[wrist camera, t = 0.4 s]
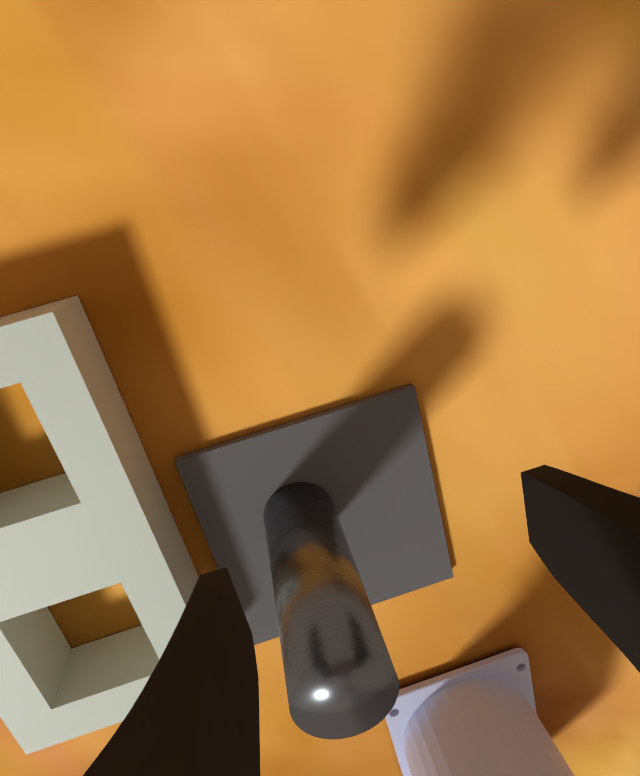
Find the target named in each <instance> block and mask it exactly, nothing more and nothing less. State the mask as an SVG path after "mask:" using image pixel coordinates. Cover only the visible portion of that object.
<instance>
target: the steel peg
mask: <svg viewBox="0 0 640 776" xmlns="http://www.w3.org/2000/svg"><path fill="white" fill-rule="evenodd" d="M264 524H265V531H266V539H267V546H268V553H269V561H270V568H271V576H272V583H273V591H274V598H275V605H276V613H277V620H278V628H279V635H280V643H281V650H282V658H283V665H284V672H285V680H286V687H287V695H288V702H289V710H290V714H291V717H292V719H293V721H294V722H295V724H296V725H297V726H298V727H299V728H300V729H301V730H303V731H304V732H305V733H307V734H309V735H312V736H315V737H318V738H323V739H342V738H347V737H352V736H355V735H358V734H360V733H363V732H365V731H367V730H369V729H371V728H372V727H374V726H375V725H377V724H378V723H379V722H381V721H382V720H383V719H384V718H385V717H386V716H387V715H388V713H389V712H390V711H391V710H392V708H393V706H394V705H395V702H396V700H397V697H398V693H399V681H398V677H397V674H396V672H395V669H394V666H393V664H392V661H391V658H390V656H389V653H388V650H387V647H386V645H385V642H384V639H383V637H382V634H381V631H380V629H379V626H378V623H377V620H376V618H375V615H374V612H373V610H372V607H371V604H370V602H369V599H368V596H367V593H366V591H365V588H364V585H363V583H362V580H361V577H360V575H359V572H358V569H357V566H356V564H355V561H354V558H353V556H352V553H351V550H350V548H349V545H348V542H347V539H346V537H345V534H344V531H343V529H342V526H341V523H340V521H339V518H338V515H337V512H336V510H335V507H334V504H333V502H332V499H331V497H330V495H329V494H328V493H327V492H326V491H325V490H324V489H323V488H322V487H320V486H318V485H316V484H313V483H309V482H295V483H291V484H288V485H285V486H283V487H281V488H280V489H278V490H277V491H276V492H275V493H273V495H272V496H271V497H270V498H269V500H268V501H267V503H266V506H265V509H264Z"/></svg>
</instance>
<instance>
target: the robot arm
mask: <svg viewBox="0 0 640 776" xmlns="http://www.w3.org/2000/svg"><path fill="white" fill-rule="evenodd" d="M521 479H522V486H523V494H524V502H525V510H526V518H527V526H528V534H529V542H530V543H531V545H532V546H533V548H534V549H535V551H536V552H537V554H538V555H539V557H540V558H541V560H542V561H543V563H544V564H545V565H546V567H547V568H548V569H549V571H550V572H551V574H552V575H553V576H554V578H555V579H556V580H557V581H558V582H559V583H560V584H561V586H562V587H563V588H564V589H565V590H566V591H567V592H568V593H569V595H570V596H571V597H572V598H573V599H574V600H575V601H576V602H577V603H578V604H579V606H580V607H581V608H582V609H583V610H584V611H585V612H586V613H587V614H588V615H589V616H590V618H591V619H592V620H593V621H594V622H595V623H596V624H597V625H598V626H599V627H600V628H601V630H602V631H603V632H604V633H605V634H606V635H607V636H608V637H609V638H610V639H611V640H612V642H613V643H614V644H615V645H616V646H617V647H618V648H619V649H620V650H621V651H622V652H623V654H624V655H625V656H626V657H627V658H628V659H629V661H630V662H631V663H632V664H633V665H634V666H635V668H636V669H637V670H638V671H639V672H640V498H639V497H636V496H633V495H630V494H627V493H624V492H621V491H618V490H615V489H612V488H610V487H607V486H604V485H601V484H598V483H596V482H593V481H590V480H587V479H585V478H582V477H579V476H576V475H574V474H571V473H568V472H565V471H562V470H559V469H556V468H553V467H550V466H547V465H543V466H540V467H536V468H533V469H530V470H527V471H524V472H521ZM385 718H386V721H387V725H388V728H389V731H390V735H391V738H392V741H393V744H394V748H395V751H396V754H397V758H398V761H399V764H400V768H401V771H402V774H403V776H574V774H573V773H572V771H571V769H570V768H569V766H568V765H567V763H566V761H565V760H564V758H563V756H562V755H561V753H560V752H559V750H558V748H557V747H556V745H555V743H554V742H553V740H552V739H551V737H550V735H549V734H548V732H547V730H546V729H545V727H544V726H543V724H542V722H541V721H540V719H539V717H538V716H537V712H536V705H535V699H534V692H533V685H532V678H531V672H530V665H529V658H528V655H527V653H526V652H525V650H524V649H522V648H514V649H512V650H509V651H506V652H503V653H500V654H498V655H495V656H492V657H489V658H486V659H484V660H481V661H478V662H475V663H472V664H469V665H467V666H464V667H461V668H458V669H455V670H453V671H450V672H447V673H444V674H441V675H439V676H436V677H433V678H430V679H427V680H425V681H422V682H419V683H416V684H413V685H410V686H408V687H405V688H402V689H399V693H398V697H397V700H396V702H395V705H394V706H393V708H392V710H391V711H390V712H389V713H388V715H387V716H386V717H385ZM83 776H260V738H259V687H258V672H257V664H256V656H255V649H254V642H253V635H252V632H251V629H250V627H249V624H248V621H247V619H246V616H245V614H244V611H243V608H242V606H241V603H240V601H239V598H238V596H237V593H236V590H235V588H234V585H233V583H232V580H231V577H230V575H229V572H228V570H227V567H224V568H221V569H218V570H215V571H212V572H209V573H205V574H202V575H200V577H199V578H198V580H197V582H196V584H195V586H194V589H193V591H192V593H191V595H190V598H189V600H188V602H187V604H186V607H185V609H184V611H183V613H182V615H181V617H180V620H179V622H178V624H177V626H176V628H175V630H174V632H173V634H172V636H171V638H170V640H169V642H168V644H167V646H166V648H165V650H164V652H163V654H162V656H161V658H160V660H159V661H158V663H157V665H156V667H155V668H154V670H153V672H152V674H151V676H150V677H149V679H148V681H147V683H146V685H145V686H144V688H143V690H142V692H141V693H140V695H139V697H138V698H137V700H136V701H135V703H134V705H133V706H132V708H131V709H130V711H129V713H128V714H127V716H126V717H125V719H124V720H123V722H122V723H121V725H120V726H119V728H118V729H117V731H116V732H115V734H114V735H113V736H112V738H111V739H110V741H109V742H108V744H107V745H106V746H105V747H104V749H103V750H102V751H101V753H100V754H99V755H98V757H97V758H96V759H95V761H94V762H93V763H92V764H91V766H90V767H89V768H88V770H87V771H86V772H85V774H84V775H83Z"/></svg>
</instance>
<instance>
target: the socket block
mask: <svg viewBox="0 0 640 776" xmlns="http://www.w3.org/2000/svg"><path fill="white" fill-rule="evenodd" d="M20 382H21V384H22V386H23V388H24V390H25V392H26V394H27V396H28V398H29V400H30V402H31V404H32V406H33V408H34V410H35V412H36V414H37V416H38V418H39V420H40V422H41V424H42V426H43V428H44V430H45V432H46V434H47V436H48V438H49V440H50V442H51V444H52V446H53V448H54V450H55V452H56V454H57V456H58V458H59V460H60V462H61V464H62V466H63V468H64V470H65V472H66V473H63V474H60V475H57V476H54V477H50V478H47V479H44V480H41V481H38V482H34V483H31V484H28V485H25V486H21V487H18V488H15V489H12V490H8V491H5V492H2V493H0V717H1V719H2V720H3V722H4V723H5V725H6V726H7V727H8V729H9V730H10V732H11V733H12V735H13V736H14V738H15V739H16V740H17V742H18V743H19V745H20V746H21V748H22V749H23V751H24V752H25V753H26V754H29V753H32V752H35V751H38V750H41V749H44V748H47V747H50V746H52V745H55V744H58V743H61V742H64V741H67V740H70V739H73V738H76V737H78V736H81V735H84V734H87V733H90V732H93V731H96V730H99V729H102V728H104V727H107V726H110V725H113V724H116V723H119V722H122V721H123V720H124V719H125V717H126V716H127V714H128V713H129V711H130V709H131V708H132V706H133V705H134V703H135V701H136V700H137V698H138V697H139V695H140V693H141V692H142V690H143V688H144V686H145V685H146V683H147V681H148V679H149V677H150V676H151V674H152V672H153V670H154V668H155V667H156V665H157V663H158V661H159V660H160V658H161V656H162V654H163V652H164V650H165V648H166V646H167V644H168V642H169V640H170V638H171V636H172V634H173V632H174V630H175V628H176V626H177V624H178V622H179V620H180V617H181V615H182V613H183V611H184V609H185V607H186V604H187V602H188V600H189V598H190V595H191V593H192V591H193V589H194V586H195V584H196V582H197V580H198V578H199V576H198V574H197V571H196V569H195V567H194V564H193V562H192V560H191V557H190V555H189V553H188V550H187V548H186V546H185V543H184V541H183V539H182V536H181V534H180V532H179V529H178V527H177V525H176V522H175V520H174V518H173V515H172V513H171V511H170V508H169V506H168V504H167V501H166V499H165V497H164V494H163V492H162V490H161V487H160V485H159V483H158V481H157V478H156V476H155V474H154V471H153V469H152V467H151V464H150V462H149V460H148V457H147V455H146V453H145V450H144V448H143V446H142V443H141V441H140V439H139V436H138V434H137V432H136V429H135V427H134V425H133V422H132V420H131V418H130V415H129V413H128V411H127V408H126V406H125V404H124V401H123V399H122V397H121V394H120V392H119V390H118V387H117V385H116V383H115V380H114V378H113V376H112V373H111V371H110V369H109V366H108V364H107V362H106V359H105V357H104V355H103V352H102V350H101V348H100V345H99V343H98V341H97V338H96V336H95V334H94V332H93V329H92V327H91V325H90V322H89V320H88V318H87V315H86V313H85V311H84V308H83V306H82V304H81V301H80V299H79V297H78V295H77V296H74V297H70V298H67V299H63V300H59V301H56V302H52V303H49V304H45V305H42V306H38V307H35V308H31V309H28V310H24V311H21V312H17V313H14V314H10V315H7V316H3V317H0V388H3V387H7V386H10V385H13V384H17V383H20ZM118 583H121V584H122V586H123V588H124V590H125V592H126V594H127V596H128V598H129V600H130V602H131V604H132V606H133V608H134V610H135V612H136V614H137V616H138V618H139V620H140V622H141V624H142V625H140V626H137V627H134V628H131V629H128V630H125V631H122V632H119V633H116V634H113V635H110V636H107V637H104V638H101V639H98V640H95V641H92V642H89V643H86V644H83V645H80V646H77V647H74V648H71V647H70V645H69V643H68V642H67V640H66V638H65V636H64V635H63V633H62V631H61V630H60V628H59V626H58V624H57V623H56V621H55V619H54V617H53V616H52V614H51V612H50V611H49V609H48V607H47V606H51V605H54V604H57V603H60V602H63V601H66V600H69V599H72V598H75V597H78V596H81V595H84V594H87V593H90V592H93V591H96V590H100V589H103V588H106V587H109V586H112V585H115V584H118Z"/></svg>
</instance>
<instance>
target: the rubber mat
mask: <svg viewBox="0 0 640 776" xmlns="http://www.w3.org/2000/svg"><path fill="white" fill-rule="evenodd" d="M175 464H176V467H177V469H178V472H179V474H180V476H181V479H182V481H183V484H184V486H185V489H186V491H187V494H188V496H189V498H190V501H191V503H192V506H193V508H194V511H195V513H196V516H197V518H198V520H199V523H200V525H201V528H202V530H203V533H204V535H205V538H206V540H207V542H208V545H209V547H210V550H211V552H212V555H213V557H214V560H215V562H216V564H217V567H218V569H221V568H224V567H227V570H228V572H229V575H230V577H231V580H232V583H233V585H234V588H235V590H236V593H237V596H238V598H239V601H240V603H241V606H242V608H243V611H244V614H245V616H246V619H247V621H248V624H249V627H250V629H251V632H252V635H253V642H254V645H256V644H259V643H262V642H265V641H267V640H270V639H273V638H276V637H279V636H280V635H279V628H278V620H277V613H276V605H275V598H274V591H273V583H272V576H271V568H270V561H269V553H268V546H267V539H266V531H265V524H264V509H265V506H266V503H267V501H268V500H269V498H270V497H271V496H272V495H273V493H275V492H276V491H277V490H278V489H280V488H281V487H283V486H285V485H288V484H291V483H295V482H309V483H313V484H316V485H318V486H320V487H322V488H323V489H324V490H325V491H326V492H327V493H328V494H329V495H330V497H331V499H332V502H333V504H334V507H335V510H336V512H337V515H338V518H339V521H340V523H341V526H342V529H343V531H344V534H345V537H346V539H347V542H348V545H349V548H350V550H351V553H352V556H353V558H354V561H355V564H356V566H357V569H358V572H359V575H360V577H361V580H362V583H363V585H364V588H365V591H366V593H367V596H368V599H369V602H370V604H371V605H373V604H376V603H379V602H382V601H385V600H387V599H390V598H393V597H396V596H399V595H402V594H405V593H408V592H411V591H414V590H417V589H420V588H423V587H425V586H428V585H431V584H434V583H437V582H440V581H443V580H446V579H449V578H452V577H453V572H452V567H451V562H450V557H449V552H448V548H447V543H446V538H445V533H444V528H443V523H442V518H441V513H440V508H439V503H438V498H437V494H436V489H435V484H434V479H433V474H432V469H431V464H430V459H429V454H428V449H427V445H426V440H425V435H424V430H423V425H422V420H421V415H420V410H419V405H418V400H417V395H416V391H415V387H414V386H413V385H412V384H409V385H406V386H403V387H400V388H397V389H393V390H390V391H387V392H384V393H380V394H377V395H374V396H371V397H368V398H364V399H361V400H358V401H355V402H352V403H348V404H345V405H342V406H339V407H335V408H332V409H329V410H326V411H323V412H319V413H316V414H313V415H310V416H306V417H303V418H300V419H297V420H294V421H290V422H287V423H284V424H281V425H278V426H274V427H271V428H268V429H265V430H261V431H258V432H255V433H252V434H249V435H245V436H242V437H239V438H236V439H233V440H229V441H226V442H223V443H220V444H216V445H213V446H210V447H207V448H204V449H200V450H197V451H194V452H191V453H187V454H184V455H181V456H178V457H175Z"/></svg>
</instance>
